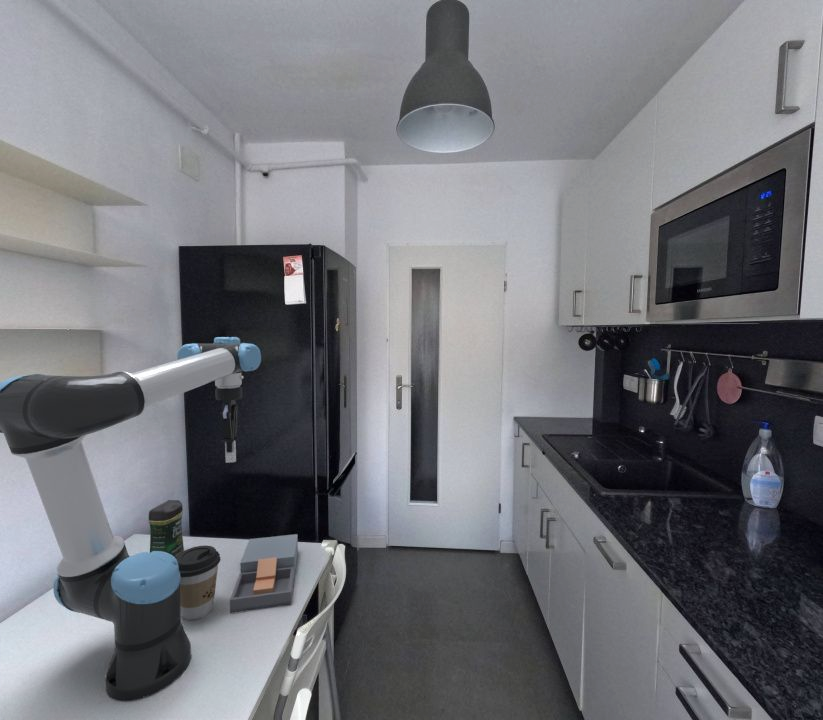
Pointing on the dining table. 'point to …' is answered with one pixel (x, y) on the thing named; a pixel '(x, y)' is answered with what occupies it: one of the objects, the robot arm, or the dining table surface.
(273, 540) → the blue-grey square block
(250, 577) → the box
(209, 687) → the dining table surface
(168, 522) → the coffee jar
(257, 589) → the tile front
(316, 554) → the dining table surface
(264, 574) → the tile rear
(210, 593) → the coffee cup
